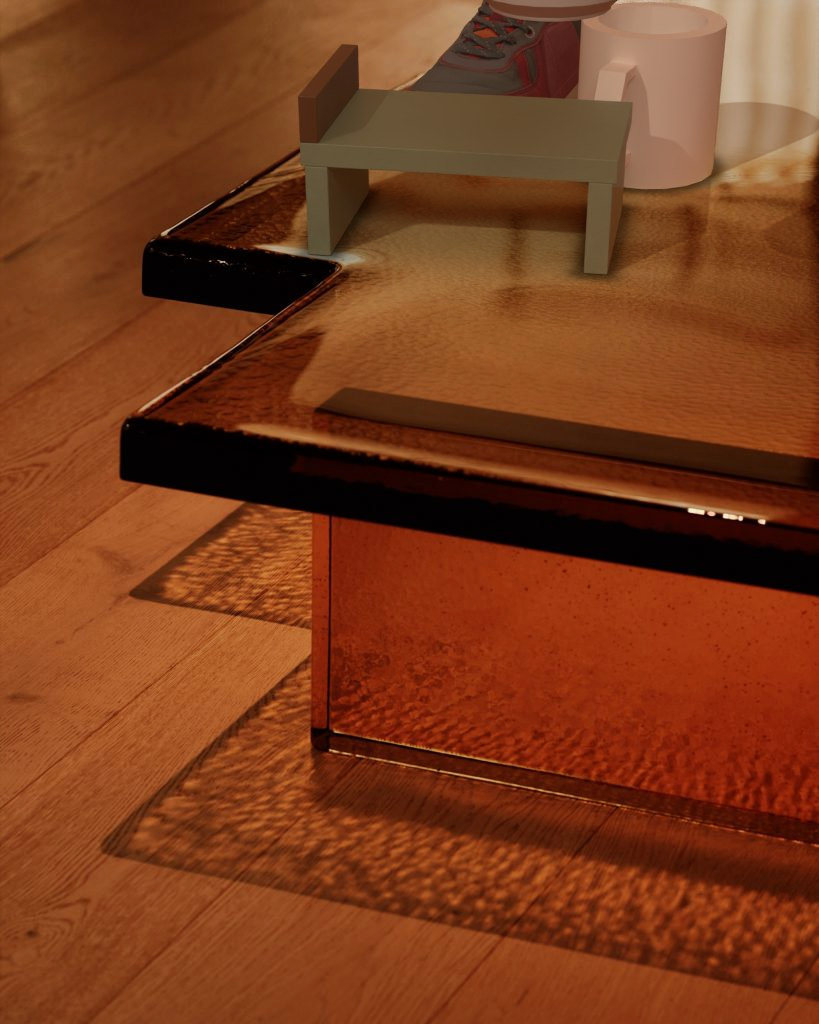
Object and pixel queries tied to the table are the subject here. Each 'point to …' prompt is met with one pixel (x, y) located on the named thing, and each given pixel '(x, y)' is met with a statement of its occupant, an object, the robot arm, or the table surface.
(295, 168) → the table surface
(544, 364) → the table surface
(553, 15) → the can
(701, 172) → the mug
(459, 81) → the sneaker
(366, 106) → the shelf
